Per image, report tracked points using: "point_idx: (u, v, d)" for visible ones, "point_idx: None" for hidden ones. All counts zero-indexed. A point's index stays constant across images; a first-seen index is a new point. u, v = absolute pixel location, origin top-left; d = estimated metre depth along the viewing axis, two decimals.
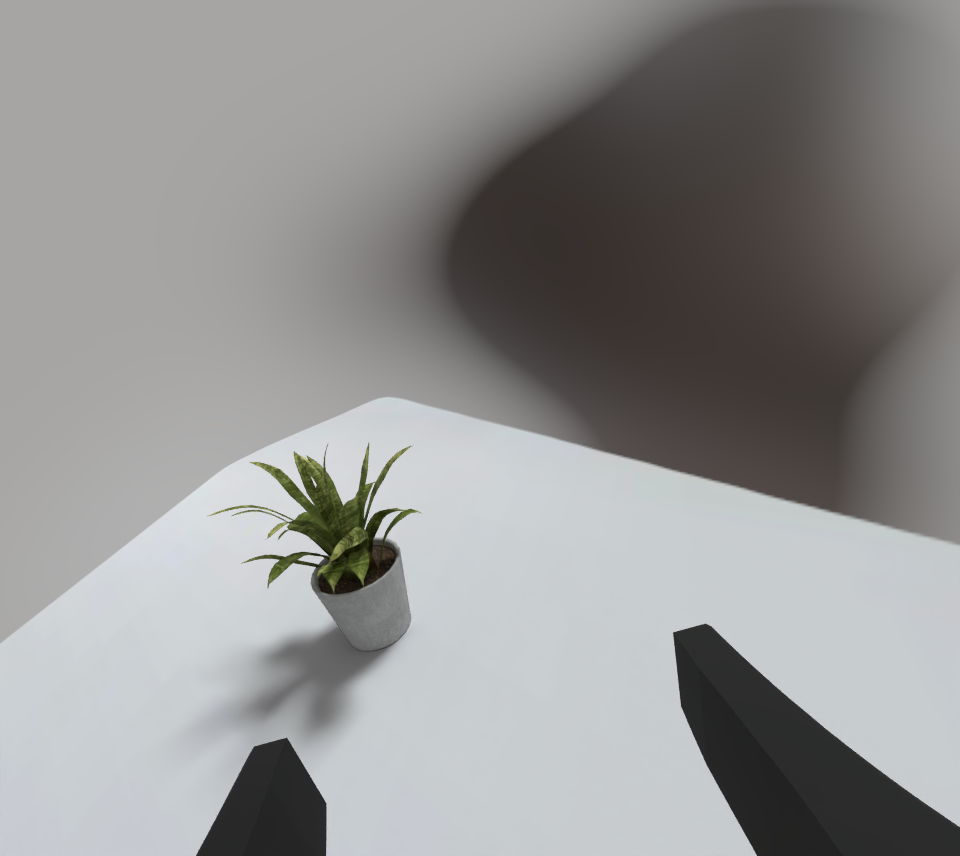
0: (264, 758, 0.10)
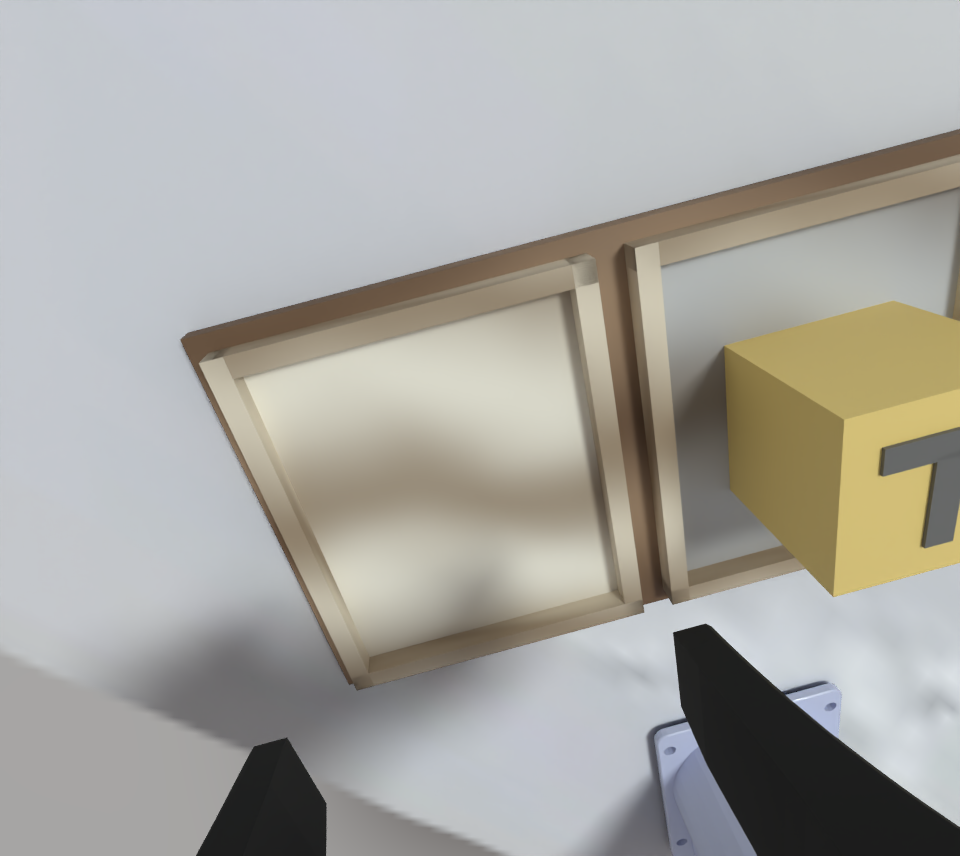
0: (264, 758, 0.10)
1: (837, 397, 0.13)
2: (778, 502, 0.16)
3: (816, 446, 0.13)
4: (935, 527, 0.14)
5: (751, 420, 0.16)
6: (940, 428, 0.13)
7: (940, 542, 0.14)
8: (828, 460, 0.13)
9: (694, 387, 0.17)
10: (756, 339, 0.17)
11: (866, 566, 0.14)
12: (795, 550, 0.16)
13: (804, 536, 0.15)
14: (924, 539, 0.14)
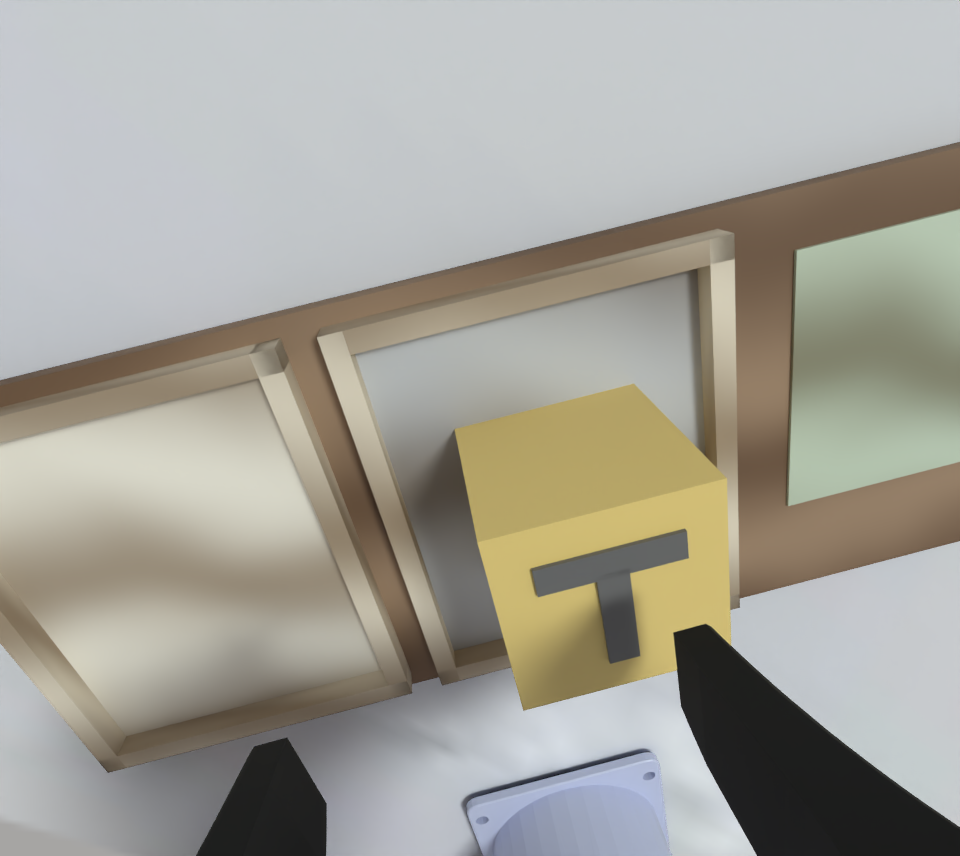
0: (263, 758, 0.10)
1: (494, 510, 0.12)
2: None
3: None
4: (616, 644, 0.13)
5: None
6: (593, 548, 0.12)
7: (630, 656, 0.13)
8: None
9: (431, 470, 0.16)
10: (489, 422, 0.16)
11: (551, 681, 0.13)
12: None
13: None
14: (610, 653, 0.13)
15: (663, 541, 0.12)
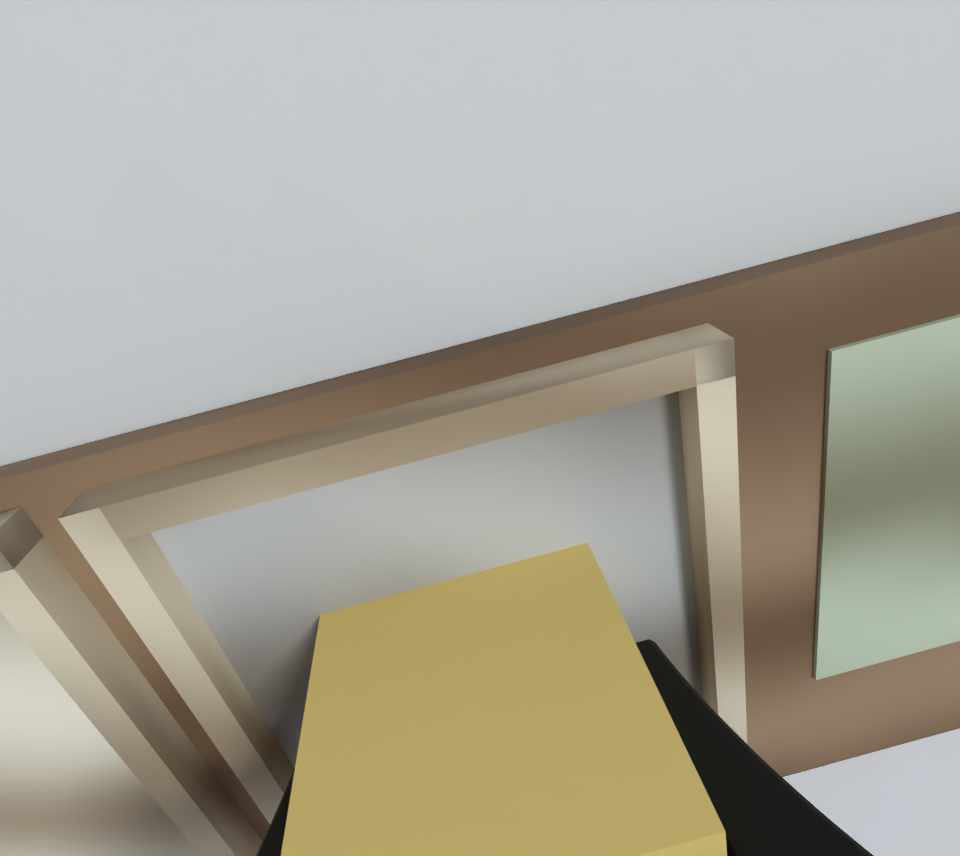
0: None
1: (318, 853, 0.07)
2: None
3: None
4: None
5: None
6: None
7: None
8: None
9: (294, 665, 0.11)
10: (372, 603, 0.11)
11: None
12: None
13: None
14: None
15: None
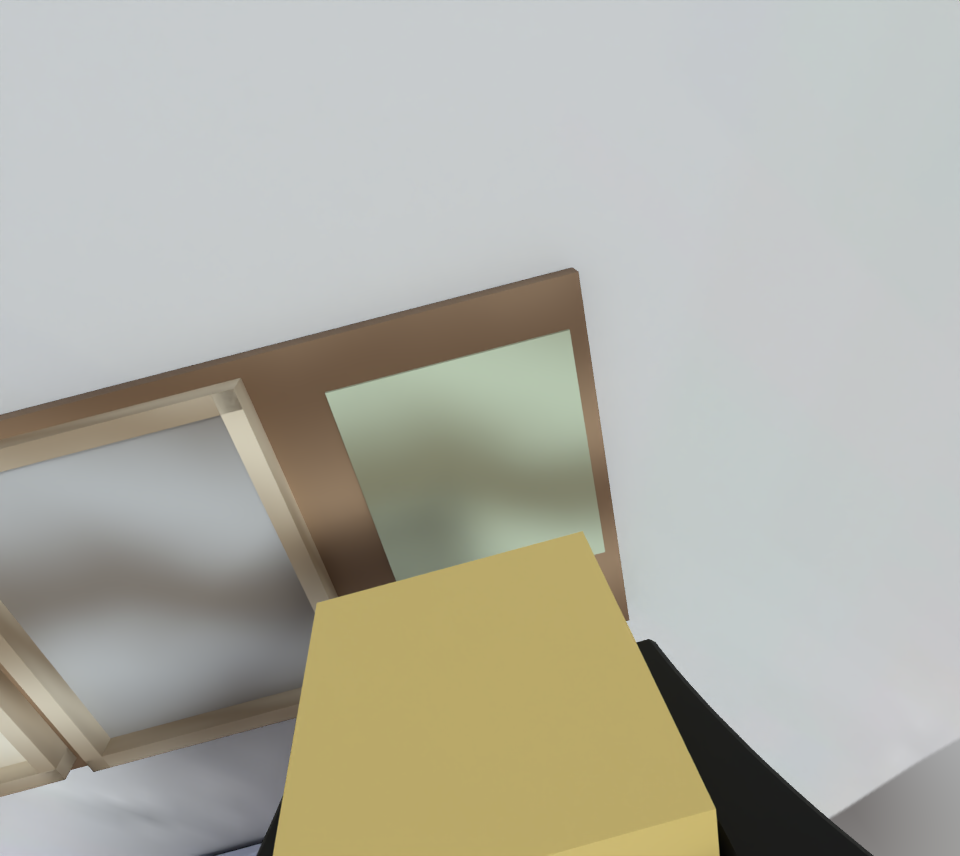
0: None
1: (314, 833, 0.07)
2: None
3: None
4: None
5: None
6: None
7: None
8: None
9: (31, 585, 0.18)
10: (368, 592, 0.11)
11: None
12: None
13: None
14: None
15: None
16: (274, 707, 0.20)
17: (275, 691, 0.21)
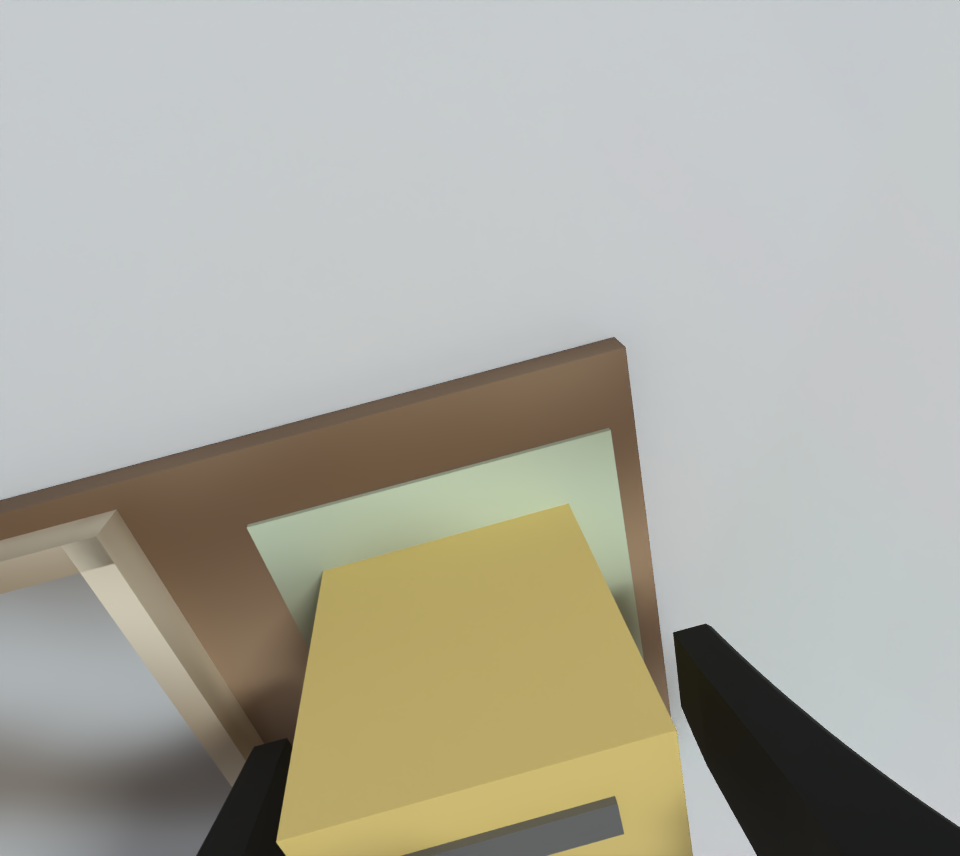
0: (263, 758, 0.10)
1: (323, 760, 0.08)
2: None
3: None
4: None
5: None
6: (471, 831, 0.07)
7: None
8: None
9: None
10: (370, 561, 0.12)
11: None
12: None
13: None
14: None
15: (582, 814, 0.08)
16: None
17: None
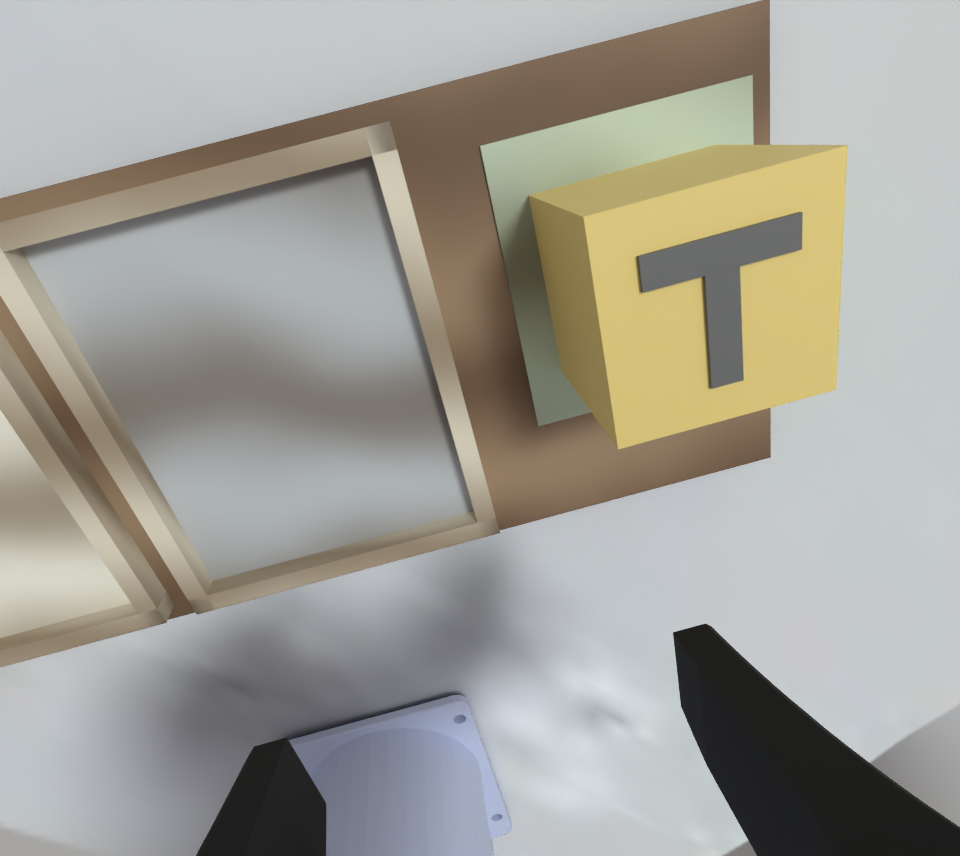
0: (264, 758, 0.10)
1: (594, 204, 0.11)
2: (579, 360, 0.14)
3: (580, 267, 0.12)
4: (720, 363, 0.12)
5: (553, 273, 0.15)
6: (703, 233, 0.11)
7: (732, 383, 0.13)
8: (587, 278, 0.12)
9: (142, 384, 0.16)
10: (564, 188, 0.15)
11: (649, 411, 0.13)
12: (595, 410, 0.14)
13: (595, 389, 0.14)
14: (712, 378, 0.12)
15: (775, 228, 0.11)
16: (393, 543, 0.19)
17: (391, 529, 0.19)
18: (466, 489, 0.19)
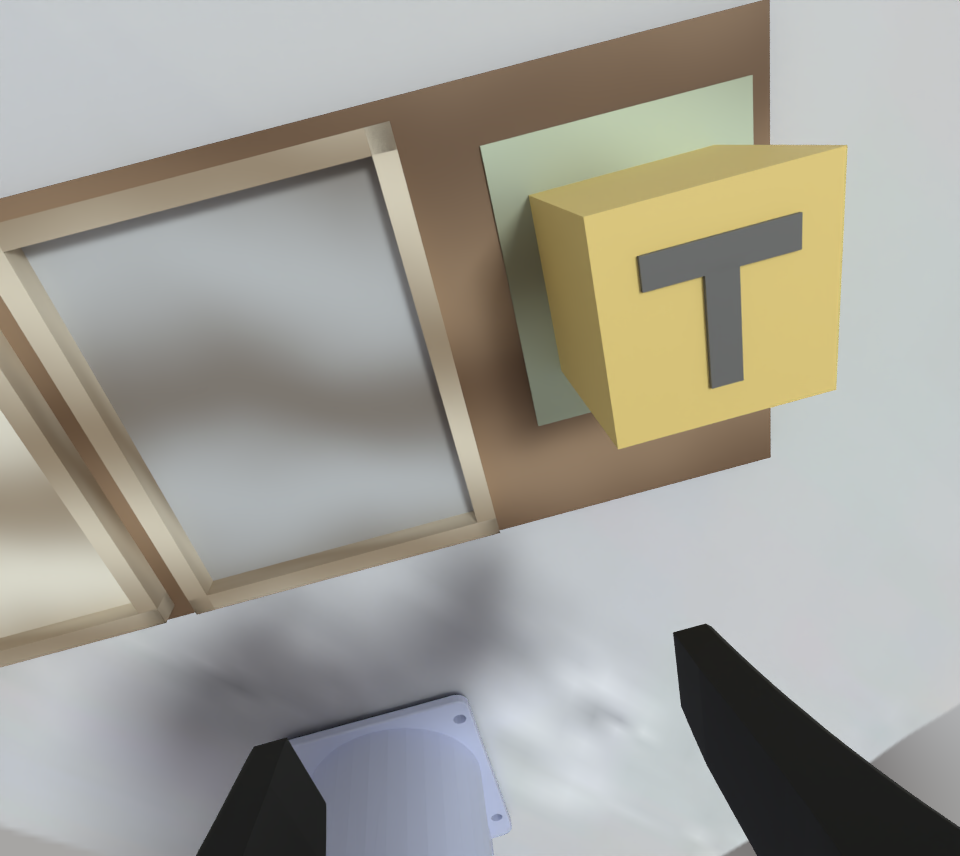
0: (264, 758, 0.10)
1: (594, 204, 0.11)
2: (579, 360, 0.14)
3: (580, 267, 0.12)
4: (720, 363, 0.12)
5: (553, 273, 0.15)
6: (703, 233, 0.11)
7: (732, 383, 0.13)
8: (587, 278, 0.12)
9: (142, 384, 0.16)
10: (564, 188, 0.15)
11: (649, 411, 0.13)
12: (595, 410, 0.14)
13: (595, 389, 0.14)
14: (712, 378, 0.12)
15: (775, 228, 0.11)
16: (393, 543, 0.19)
17: (391, 529, 0.19)
18: (466, 489, 0.19)
